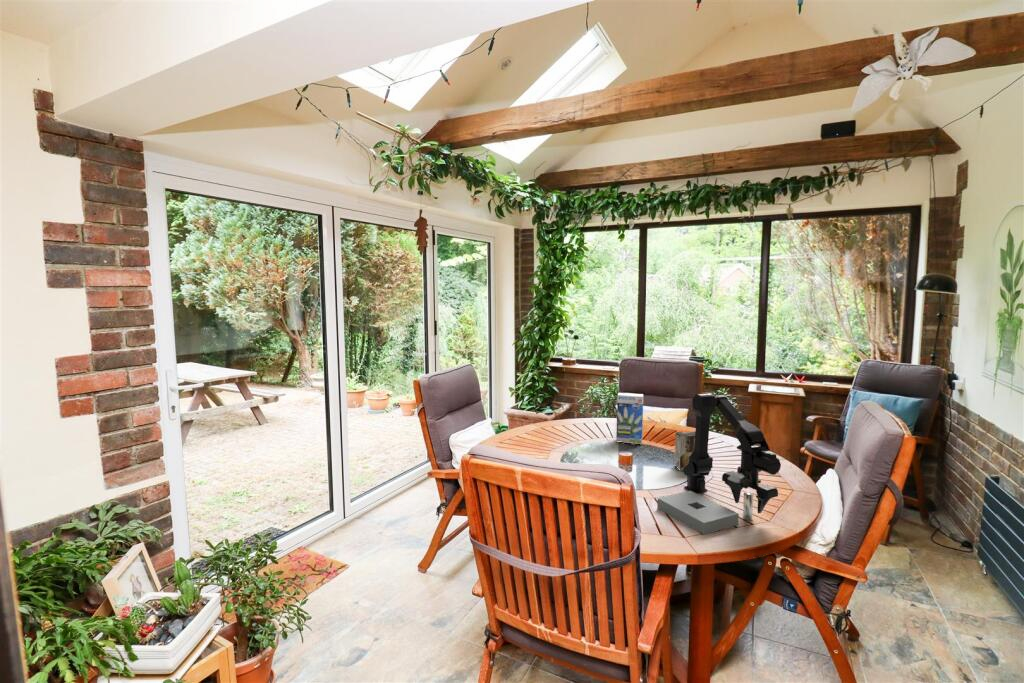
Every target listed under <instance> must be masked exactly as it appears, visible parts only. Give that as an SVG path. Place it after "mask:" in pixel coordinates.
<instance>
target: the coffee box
mask: <svg viewBox="0 0 1024 683" xmlns="http://www.w3.org/2000/svg"><path fill="white" fill-rule="evenodd" d="M674 443H675V445H674V447H675V450H674V460H675V461H674V466H675V465H676V466H677V467H678V468H679V469H680V470H683V468H684V467H686V466H687V465H688V463H689V458H690V456H691V454H692V453H693V451H694V446H695V431H675V442H674Z"/></svg>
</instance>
